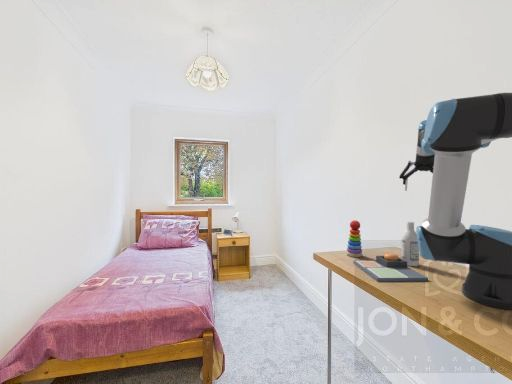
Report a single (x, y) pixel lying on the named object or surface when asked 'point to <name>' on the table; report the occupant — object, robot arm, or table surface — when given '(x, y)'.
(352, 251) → the stacking toy
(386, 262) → the picture board
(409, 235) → the bath foam
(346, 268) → the table surface
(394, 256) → the button
